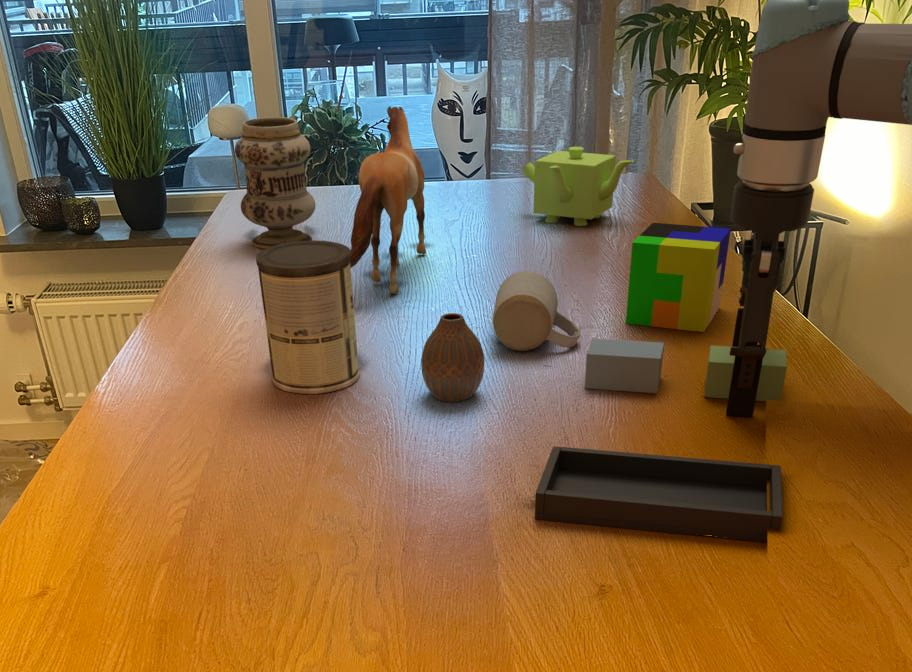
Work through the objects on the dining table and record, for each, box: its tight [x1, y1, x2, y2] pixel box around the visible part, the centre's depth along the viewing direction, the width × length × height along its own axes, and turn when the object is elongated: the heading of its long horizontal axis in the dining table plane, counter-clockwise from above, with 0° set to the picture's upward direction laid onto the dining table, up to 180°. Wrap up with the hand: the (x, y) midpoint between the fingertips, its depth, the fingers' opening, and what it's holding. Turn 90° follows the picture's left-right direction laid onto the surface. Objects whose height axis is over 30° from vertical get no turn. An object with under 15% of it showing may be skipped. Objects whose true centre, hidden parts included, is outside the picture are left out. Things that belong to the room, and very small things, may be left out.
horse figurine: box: [350, 106, 427, 295], centre depth 143 cm, size 31×8×21 cm, turn 167°
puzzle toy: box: [625, 222, 731, 333], centre depth 128 cm, size 10×10×10 cm
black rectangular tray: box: [534, 446, 784, 543], centre depth 89 cm, size 21×10×3 cm, turn 75°
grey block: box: [584, 338, 665, 394], centre depth 112 cm, size 8×5×4 cm, turn 75°
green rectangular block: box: [703, 345, 788, 402], centre depth 109 cm, size 8×5×4 cm, turn 75°
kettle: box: [521, 146, 635, 227], centre depth 169 cm, size 15×14×11 cm
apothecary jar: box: [234, 116, 317, 250], centre depth 160 cm, size 12×12×18 cm
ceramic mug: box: [492, 270, 581, 352], centre depth 122 cm, size 11×8×8 cm
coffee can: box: [255, 240, 361, 395], centre depth 113 cm, size 10×10×14 cm
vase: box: [420, 312, 485, 403], centre depth 109 cm, size 7×7×9 cm
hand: (740, 389), depth 110 cm, fingers open, 13 cm apart
